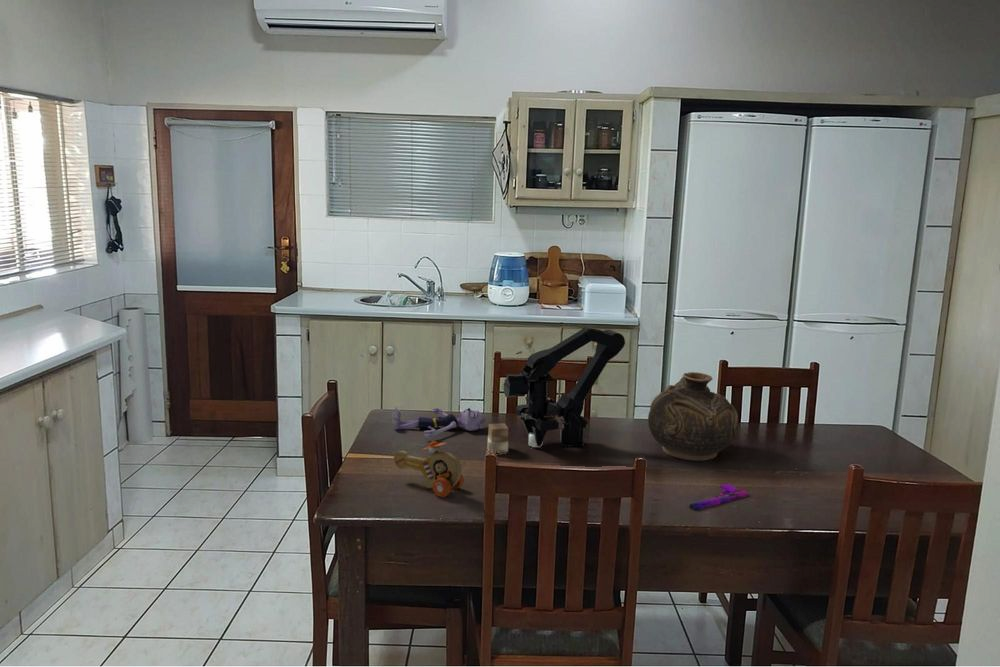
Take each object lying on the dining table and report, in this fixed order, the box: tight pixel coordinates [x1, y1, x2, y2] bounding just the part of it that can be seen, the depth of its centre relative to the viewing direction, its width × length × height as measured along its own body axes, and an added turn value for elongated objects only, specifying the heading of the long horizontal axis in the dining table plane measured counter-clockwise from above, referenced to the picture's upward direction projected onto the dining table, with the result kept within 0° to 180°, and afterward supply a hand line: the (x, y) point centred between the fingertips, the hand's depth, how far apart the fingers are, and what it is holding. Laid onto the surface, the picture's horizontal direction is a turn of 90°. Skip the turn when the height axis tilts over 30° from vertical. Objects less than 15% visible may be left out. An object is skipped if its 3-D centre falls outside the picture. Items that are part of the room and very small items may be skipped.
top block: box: [487, 423, 509, 442], centre depth 229 cm, size 5×5×4 cm
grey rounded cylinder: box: [528, 432, 544, 447], centre depth 234 cm, size 4×4×4 cm
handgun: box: [689, 482, 749, 511], centre depth 199 cm, size 21×8×2 cm, turn 122°
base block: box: [487, 436, 509, 453], centre depth 229 cm, size 6×6×4 cm
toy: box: [391, 406, 487, 439], centre depth 248 cm, size 26×9×30 cm
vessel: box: [647, 371, 740, 462], centre depth 231 cm, size 27×28×25 cm
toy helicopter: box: [393, 440, 464, 498], centre depth 200 cm, size 8×21×14 cm, turn 61°
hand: (535, 443), depth 234 cm, fingers closed on grey rounded cylinder, 4 cm apart
